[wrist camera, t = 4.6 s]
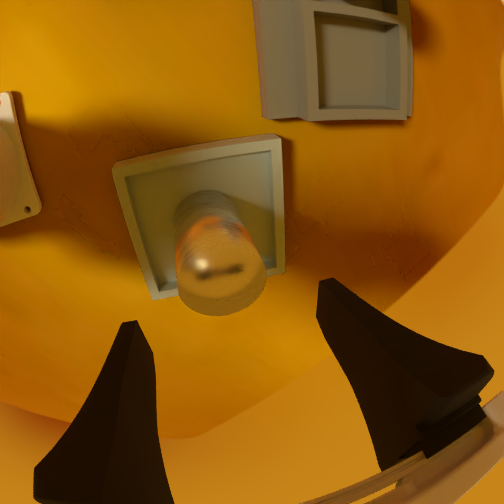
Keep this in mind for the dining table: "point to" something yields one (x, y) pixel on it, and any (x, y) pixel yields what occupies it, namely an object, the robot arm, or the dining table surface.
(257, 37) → the grey pocketed tray
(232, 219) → the cylinder
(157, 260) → the tote tray
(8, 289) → the dining table surface
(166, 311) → the dining table surface
